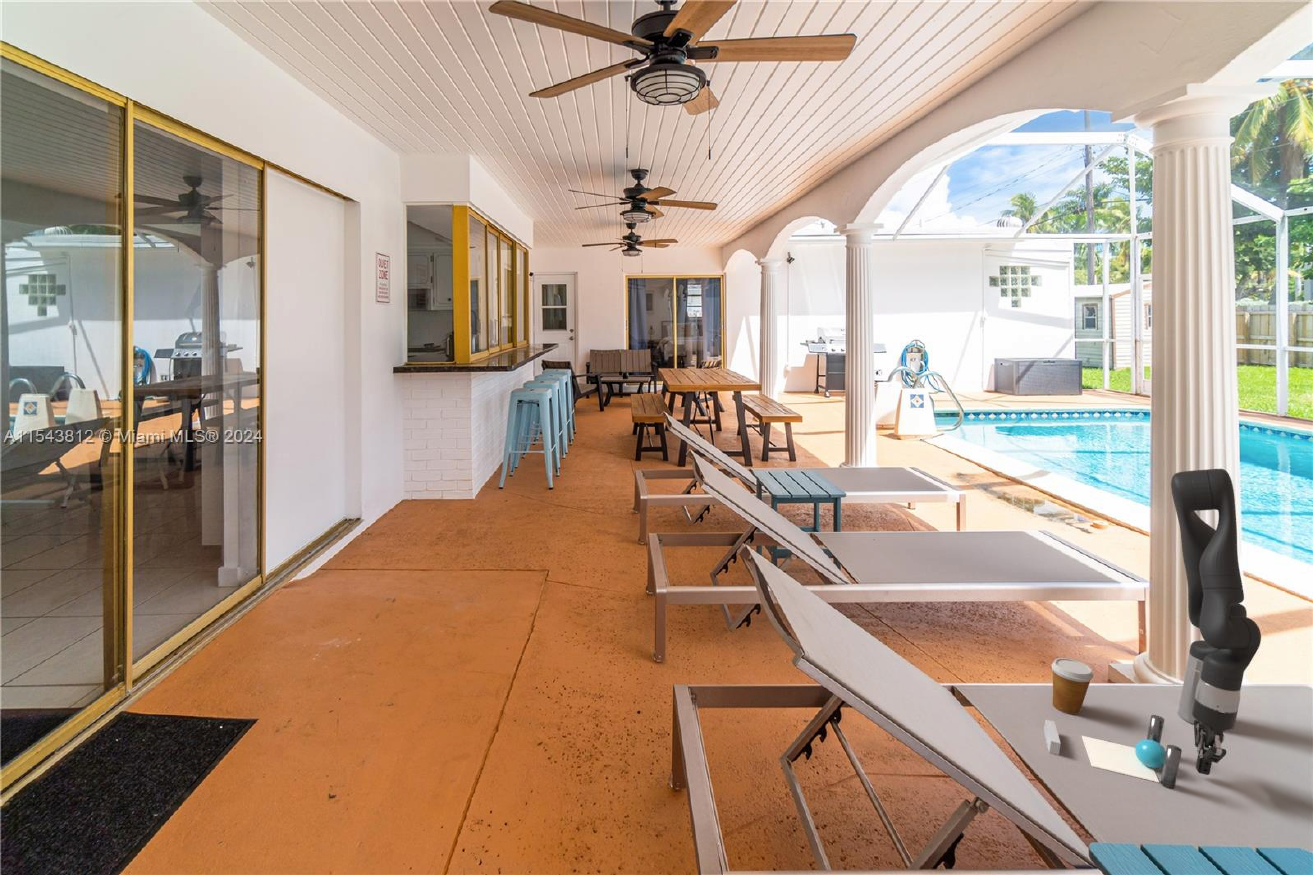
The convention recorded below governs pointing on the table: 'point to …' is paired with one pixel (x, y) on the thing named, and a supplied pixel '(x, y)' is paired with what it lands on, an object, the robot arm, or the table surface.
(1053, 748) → the wall
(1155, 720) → the post
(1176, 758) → the post
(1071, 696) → the disposable coffee cup
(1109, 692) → the table surface
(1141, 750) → the ball
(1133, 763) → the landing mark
